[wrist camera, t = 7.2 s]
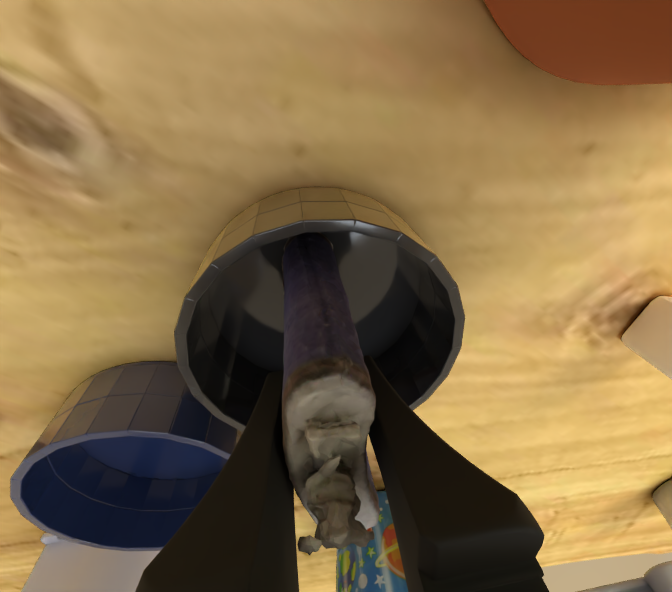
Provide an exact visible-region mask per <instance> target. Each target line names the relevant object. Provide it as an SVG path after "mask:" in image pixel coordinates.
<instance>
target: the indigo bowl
mask: <svg viewBox="0 0 672 592" xmlns="http://www.w3.org/2000/svg"><path fill="white" fill-rule="evenodd" d="M242 433H243V432H242V431H240V430H238V429H236V428H234V427H232V426H230V425H229V424H227V423H225V422H223V421H221V420H219V419H217V417H215V416H214V415H213V414H212V413H211V412H209V411H208V410H207V409H206V408H205V407H204V406H203V405H202V404H201V403H200V402H199V401H198V400H197V399H196V398H195V397H194V396H193V395H192V393H191V391H190V389H189V388H188V386H187V384H186V382H185V380H184V378H183V376H182V374H181V372H180V371H179V369H178V366H177V363H175V362H162V361H148V362H136V363H128V364H124V365H119V366H115V367H112V368H109V369H106V370H103V371H101V372H99V373H97V374H95V375H93V376H91V377H89V378H88V379H87V380H85V381H84V382H82V383H81V384H80V385H79V386H78V387H77V388H75V389H74V390H73V392H72V393H71V395H70V396H69V397H68V399H67V400H66V402H65V403H64V404H63V406H62V407H61V408H60V410H59V411H58V413H57V414H56V415H55V417H54V418H53V420H52V421H51V422H50V424H49V425H48V426H47V428H46V429H45V431H44V432H43V433H42V435H41V436H40V437H39V439H38V440H37V442H36V443H35V444H34V446H33V447H32V449H31V450H30V451H29V453H28V454H27V455H26V457H25V458H24V460H23V461H22V462H21V464H20V465H19V467H18V468H17V469H16V471H15V472H14V474H13V475H12V477H11V479H10V497H11V500H12V501H13V503H14V504H15V506H16V508H17V509H18V511H19V512H20V514H21V515H22V516H23V517H24V518H26V519H27V520H29V521H30V522H31V523H33V524H34V525H35V526H37V527H38V528H39V529H41V530H43V531H45V532H47V533H50V534H52V535H54V536H57V537H59V538H62V539H64V540H66V541H69V542H74V543H78V544H82V545H86V546H90V547H94V548H100V549H109V550H119V551H161V550H162V548H163V547H164V546H165V545H166V544H167V543H168V542H169V540H170V539H171V538H172V537H173V536H174V534H175V533H176V532H177V531H178V530H179V528H180V527H181V526H182V524H183V523H184V522H185V521H186V519H187V518H188V517H189V515H190V514H191V513H192V511H193V510H194V509H195V508H196V506H197V505H198V504H199V502H200V501H201V500H202V498H203V497H204V495H205V494H206V493H207V491H208V490H209V488H210V487H211V485H212V484H213V482H214V481H215V479H216V478H217V476H218V475H219V473H220V472H221V470H222V468H223V467H224V465H225V464H226V462H227V460H228V459H229V457H230V455H231V454H232V452H233V450H234V448H235V446H236V445H237V443H238V441H239V439H240V437H241V435H242Z"/></svg>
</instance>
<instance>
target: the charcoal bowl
mask: <svg viewBox="0 0 672 592" xmlns="http://www.w3.org/2000/svg"><path fill="white" fill-rule="evenodd" d="M315 232H320V233H321V234H323V235H324V236H326V238H327V239H328V240H329V241H330V242H331V243H332V245H333V252H334V255H335V258H336V263H337V267H338V270H339V274H340V278H341V280H342V283H343V286H344V289H345V292H346V295H347V298H348V300H349V307H350V312H351V317H352V320H353V324H354V326H355V329H356V332H357V335H358V340H359V345H360V349H361V350H362V354H363V356H367V355H370V356H371V357H372V358H373V360H374V362H375V363H376V365H377V366H378V368H379V370H380V371H381V372H382V374H383V375H384V377H385V378H386V379H387V381H388V382H389V383H390V385H391V386H392V387H393V389H394V390H395V391H396V392H397V393H398V395H399V396H400V397H401V398H402V399H403V401H404V402H405V403H406V404H407V405H408V406H409V407H410V408H411V409H412V411H413V410H414V409H415V408H417V407H418V406H419V405H421V404H422V403H424V402H425V401H426V400H427V399H428V398H429V397H430V396H431V395H432V394H433V393H434V391H435V390H436V389H437V388H438V387H439V386H440V384H441V383H442V382H443V381H444V380H445V379H446V377H447V376H448V375H449V372H450V370H451V368H452V366H453V364H454V362H455V360H456V358H457V356H458V354H459V351H460V349H461V346H462V338H463V330H464V322H465V314H464V310H463V306H462V302H461V298H460V293H459V289H458V286H457V284H456V282H455V281H454V279H453V278H452V277H451V275H450V274H449V272H448V271H447V269H446V268H445V267H444V265H443V264H442V262H441V261H440V260H439V258H438V257H437V256H436V255H435V253H434V252H433V251H432V250H431V249H430V248H429V247H428V246H427V245H426V244H425V243H424V242H423V241H422V240H421V238H420V237H419V236H418V235H417V234H416V233H415V232H414V231H413V230H412V229H411V228H410V227H409V226H408V225H407V223H406V222H405V221H404V220H403V219H402V218H401V217H399V216H398V215H396V214H395V213H394V212H392V211H391V210H390V209H388V208H387V207H385V206H384V205H383V204H381V203H379V202H378V201H376V200H374V199H373V198H369V197H367V196H365V195H362V194H359V193H356V192H353V191H349V190H344V189H340V188H333V187H307V188H297V189H293V190H288V191H284V192H280V193H277V194H275V195H272V196H269V197H267V198H264V199H262V200H260V201H259V202H257V203H255V204H253V205H251V206H249V207H248V208H247V209H245V210H244V211H243V212H241V213H240V214H239V215H237V216H236V217H235V218H234V219H232V220H231V221H230V222H229V223H228V224H227V226H226V227H225V228H224V229H223V231H222V232H221V233H220V235H219V236H218V237H217V239H216V240H215V241H214V243H213V244H212V245H211V247H210V248H209V250H208V252H207V254H206V256H205V258H204V260H203V262H202V264H201V266H200V268H199V270H198V272H197V274H196V276H195V278H194V280H193V282H192V284H191V286H190V287H189V289H188V291H187V293H186V295H185V297H184V301H183V304H182V307H181V311H180V314H179V317H178V321H177V324H176V327H175V331H174V338H175V347H176V357H177V366H178V369H179V371H180V372H181V374H182V376H183V378H184V380H185V382H186V384H187V386H188V388H189V389H190V391H191V393H192V395H193V396H194V397H195V398H196V399H197V400H198V401H199V402H200V403H201V404H202V405H203V406H204V407H205V408H206V409H207V410H208V411H209V412H211V413H212V414H213V415H214V416H215V417H217V419H219V420H221V421H223V422H225V423H227V424H229V425H230V426H232V427H234V428H236V429H238V430H240V431H242V432H243V431H244V429H245V427H246V425H247V423H248V421H249V419H250V417H251V415H252V412H253V410H254V408H255V406H256V403H257V401H258V398H259V396H260V393H261V391H262V388H263V385H264V383H265V380H266V376H267V375H268V373H271V372H276V371H282V370H284V362H283V352H284V287H283V284H282V281H283V271H282V267H283V266H282V257H283V254H284V249H283V248H284V246H285V244H286V242H287V240H288V238H290V237H293V236H296V235H300V234H303V233H315Z"/></svg>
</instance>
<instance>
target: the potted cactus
mask: <svg viewBox="0 0 672 592" xmlns="http://www.w3.org/2000/svg"><path fill="white" fill-rule="evenodd" d="M484 2H485V3H486V5H487V7H488V9H489V11H490V13H491V14H492V16H493V18H494V20H495V22H496V23H497V25H498V26H499V27H500V29H501V30H502V32H503V33H504V34H505V36H506V37H507V39H508V40H509V41H510V42H511V43H512V44H513V46H514V47H515V48H516V49H517V50H518V51H519V52H520V53H521V54H522V55H523V56H524V57H526V58H527V59H528V60H530V61H531V62H532V63H534V64H535V65H536V66H538V67H539V68H541V69H543V70H545V71H547V72H549V73H551V74H553V75H555V76H557V77H560V78H564V79H567V80H571V81H574V82H579V83H587V84H595V85H632V84H663V83H672V0H484Z"/></svg>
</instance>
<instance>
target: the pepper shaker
mask: <svg viewBox="0 0 672 592" xmlns="http://www.w3.org/2000/svg"><path fill="white" fill-rule="evenodd" d="M621 340H622V342H623V343H624V344H625V345H626V346H627V347H628V348H630V349H631V350H632V351H634V352H635V353H636V354H638V355H639V356H641V357H642V358H643V359H645V360H646V361H647V362H649V363H650V364H651V365H653V366H654V367H655V368H657V369H658V370H660V371H661V372H662V373H664V374H665V375H666V376H668V377H669V378H670V379H672V297H669V296H659V297H657V298H655V299H654V300H652V301H651V302H650V304H649V305H648V306H647V307H646V308H645V309H644V311H643V312H642V313H641V314H640V315H639V316H638V318H637V319H636V320H635V321H634V322H633V323H632V325H631V326H630V327H629V328H628V329H627V330H626V332H625V333H624V334H623V335H622V338H621Z"/></svg>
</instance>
